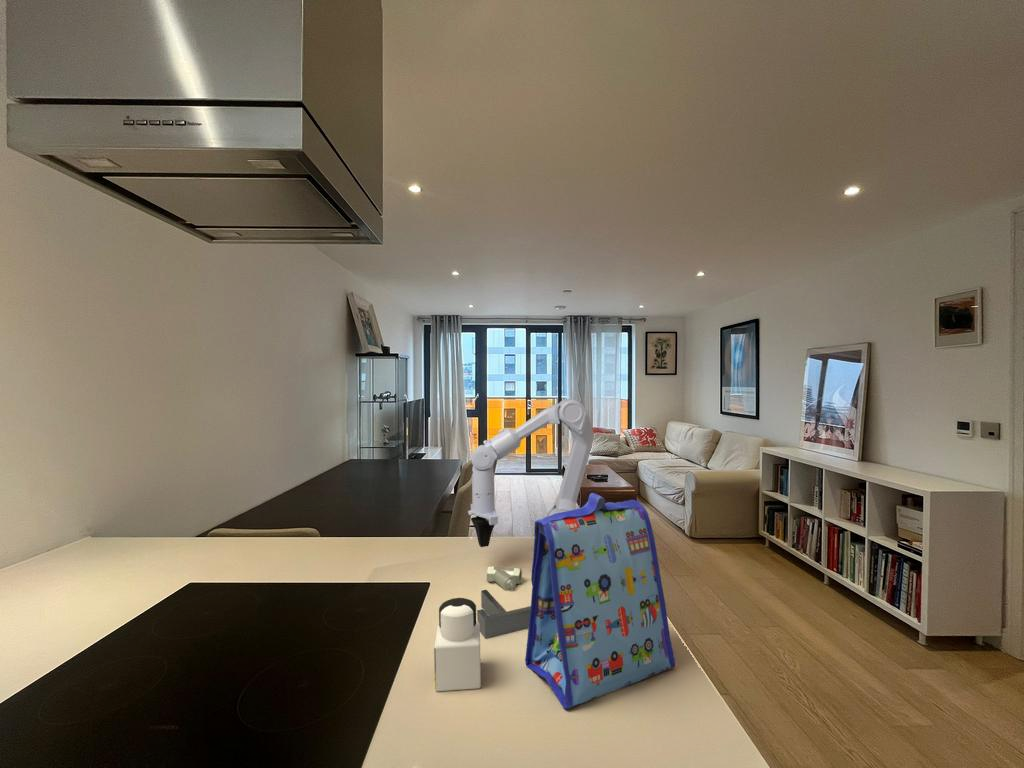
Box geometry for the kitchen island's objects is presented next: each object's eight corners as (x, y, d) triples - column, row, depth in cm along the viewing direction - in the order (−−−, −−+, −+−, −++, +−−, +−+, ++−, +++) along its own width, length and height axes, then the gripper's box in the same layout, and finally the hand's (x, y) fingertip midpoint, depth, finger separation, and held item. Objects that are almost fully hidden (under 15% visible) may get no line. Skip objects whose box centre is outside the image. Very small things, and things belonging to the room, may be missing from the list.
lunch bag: (622, 633, 88) (620, 481, 88) (678, 671, 76) (674, 495, 76) (522, 665, 78) (520, 495, 78) (568, 715, 66) (564, 513, 66)
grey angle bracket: (555, 590, 107) (554, 575, 107) (584, 613, 95) (583, 596, 96) (464, 610, 98) (464, 594, 98) (485, 638, 86) (484, 620, 86)
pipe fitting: (516, 595, 106) (522, 580, 113) (515, 578, 106) (521, 565, 112) (483, 592, 108) (490, 578, 114) (482, 575, 108) (490, 563, 114)
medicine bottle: (438, 665, 78) (437, 594, 79) (480, 662, 79) (479, 592, 79) (434, 692, 71) (433, 614, 71) (480, 689, 72) (479, 612, 72)
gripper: (459, 488, 123) (460, 539, 123) (478, 500, 110) (478, 557, 109) (484, 486, 126) (484, 536, 126) (505, 497, 112) (506, 553, 112)
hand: (483, 545), depth 118 cm, fingers closed
